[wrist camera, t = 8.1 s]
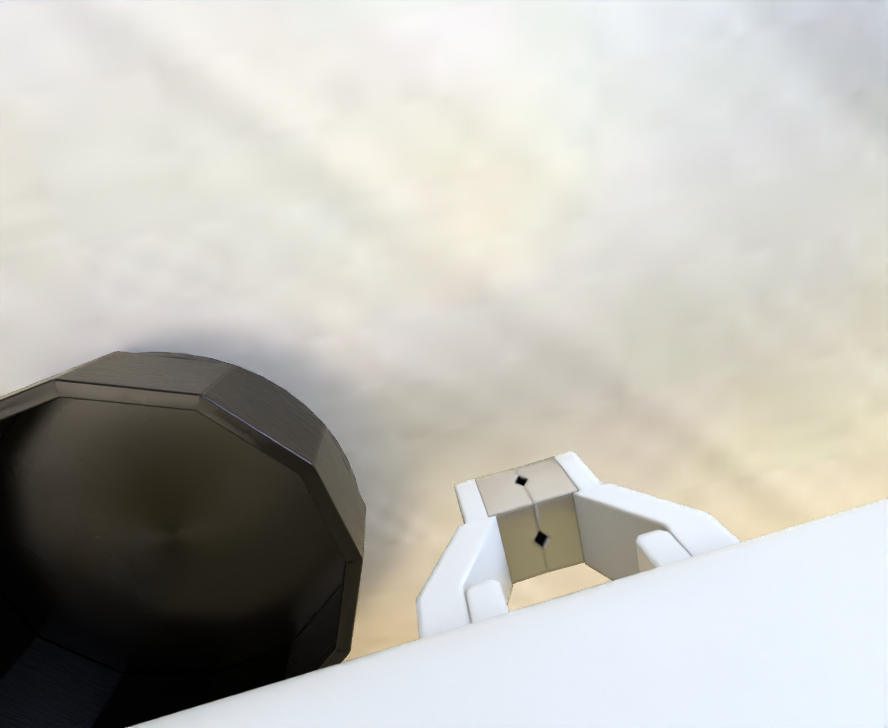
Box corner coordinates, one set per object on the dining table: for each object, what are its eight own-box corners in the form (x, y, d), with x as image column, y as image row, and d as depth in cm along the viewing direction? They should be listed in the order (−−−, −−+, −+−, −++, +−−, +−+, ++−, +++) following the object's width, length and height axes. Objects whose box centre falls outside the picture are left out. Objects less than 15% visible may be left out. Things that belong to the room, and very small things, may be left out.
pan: (-118, 442, 15) (-267, 504, 11) (265, 291, 15) (231, 308, 12) (214, 841, 21) (181, 960, 18) (481, 729, 21) (500, 823, 18)
